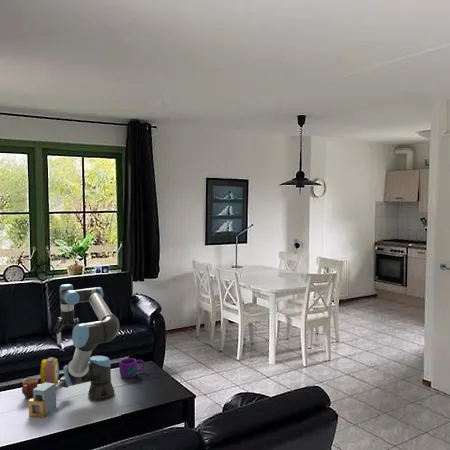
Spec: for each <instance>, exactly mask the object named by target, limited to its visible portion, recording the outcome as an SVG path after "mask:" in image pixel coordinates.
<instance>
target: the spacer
mask: <svg viewBox="0 0 450 450" xmlns="http://www.w3.org/2000/svg"><path fill="white" fill-rule="evenodd" d="M27 401H28V403H27V404H28V417H29V418H36V419H45V418H46V417H47V415H46V400H39V399H28V400H27ZM35 405H39V406H40V412H35Z"/></svg>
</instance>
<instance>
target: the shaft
mask: <svg viewBox="0 0 450 450" xmlns="http://www.w3.org/2000/svg"><path fill="white" fill-rule="evenodd" d="M69 387H70V386H67V385H66V382H65V377H64V376H62V377H60V378H59V382H58V384H56V392H57V391H59V390H61V388H66V389H67V388H69Z"/></svg>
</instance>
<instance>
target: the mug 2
mask: <svg viewBox="0 0 450 450" xmlns="http://www.w3.org/2000/svg"><path fill="white" fill-rule="evenodd" d="M118 363H119V364H118V365H119V366H118V367H119V374H120V377H121V378H122V379H132V378H134V377H136V376H137V373H138V372H141V371H143V370H144V369H145V367H146V364H145V361H144V360H143V359H136V358H132V357H131V358H130V357H129V358H123V359H121V360H119V361H118ZM138 363H141V364H142V366H141V367H140V368H139V369H138Z"/></svg>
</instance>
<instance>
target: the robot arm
mask: <svg viewBox="0 0 450 450" xmlns="http://www.w3.org/2000/svg"><path fill="white" fill-rule="evenodd" d="M59 298H60V299H59V300H60V316H59V317H57V318H56V323H55V325H54V327H53V330H52V333H54V334H55V337H56V338H55V339H57V345H61V344H62V332H61V331H62V330H63V328H64V327H65V326H68V327H71V328H72V336H71V339H72V344H73V346H74V347H75V350H74V354H73V357H72V360H71V361H69V362H68V364H65V365H64V366H63V377H65V382H66V385H67V386H69V387H71V386H72V387H74V386H76V385H77V386H78V385H81V384H85V383H89V382H90V387H89V389H88V392H87V393H88V394H87V398H88V399H89V400H90V401H91V402H92V401H93V402H104V401H108V400H111V399H112V398H113V397H114V396H115V395H116V394H115V389H114V386H113V383H112V375H111V372H112V371H111V370H112V368H111V365H112V364H111V360H110V358H109V357H108V356H104V355H93V356H92V355H91V354H92V353H93V350H94V349H96V347H97V346H98V345H99V344H105V343H109V342H112V341H113V339H114V338H116V336H117V335H118V333H119V330H120V321H119V318H118V317H117V316H116V315H115V314H113V313H112V312H111V310H110V308H109V306H108V305H107V303H106V301H105V300H104V299H103V298H104V291H103V288H102V287H100V286H99V287H89V288H82V289H75V290H74V285H73V284H70V283H66V284H61V285H60V286H59ZM87 302H89V304H90V306H91V308H92V309H93V311H94V313H95V315H96V317H97V318H98V321H91V322H84V323H83V322H82V323H80V318H79V317H77V318H75V309H74V308H75V305H77V304H79V303H87Z"/></svg>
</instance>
